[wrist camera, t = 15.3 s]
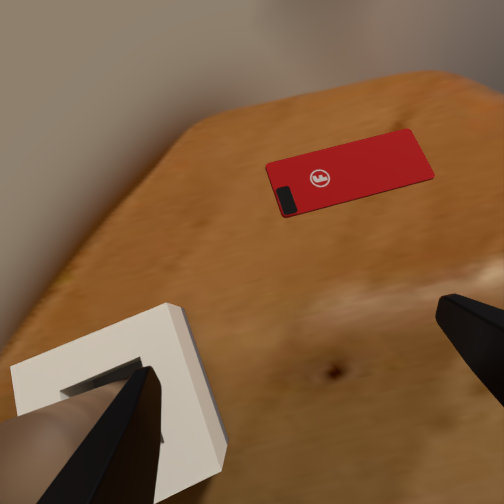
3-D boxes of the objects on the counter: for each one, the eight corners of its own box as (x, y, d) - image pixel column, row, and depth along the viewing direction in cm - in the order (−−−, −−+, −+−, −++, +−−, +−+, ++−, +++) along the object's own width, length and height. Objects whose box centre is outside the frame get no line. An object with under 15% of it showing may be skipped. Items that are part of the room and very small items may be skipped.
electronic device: (407, 130, 27) (264, 166, 26) (410, 126, 27) (264, 163, 25) (433, 180, 26) (282, 220, 24) (437, 176, 25) (283, 218, 24)
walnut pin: (167, 417, 19) (76, 507, 9) (117, 441, 18) (-33, 560, 9) (151, 366, 20) (55, 399, 10) (103, 387, 19) (-45, 443, 10)
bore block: (228, 439, 19) (221, 471, 15) (90, 505, 18) (39, 559, 14) (183, 308, 22) (166, 302, 18) (60, 359, 21) (10, 366, 16)
